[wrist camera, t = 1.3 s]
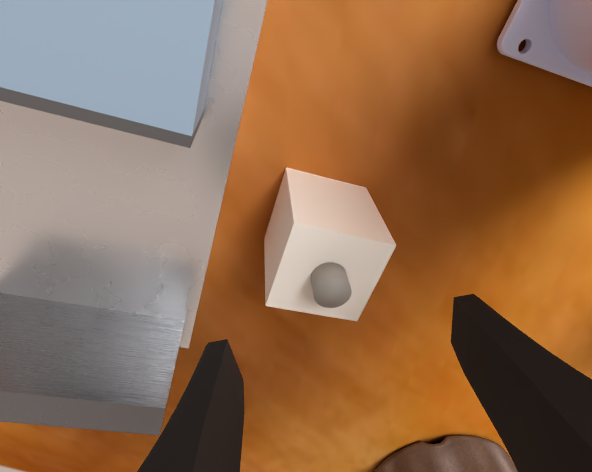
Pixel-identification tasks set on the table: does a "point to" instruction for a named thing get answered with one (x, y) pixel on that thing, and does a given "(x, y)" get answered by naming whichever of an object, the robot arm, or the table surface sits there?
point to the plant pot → (450, 457)
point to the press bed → (110, 250)
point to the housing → (324, 247)
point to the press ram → (111, 62)
